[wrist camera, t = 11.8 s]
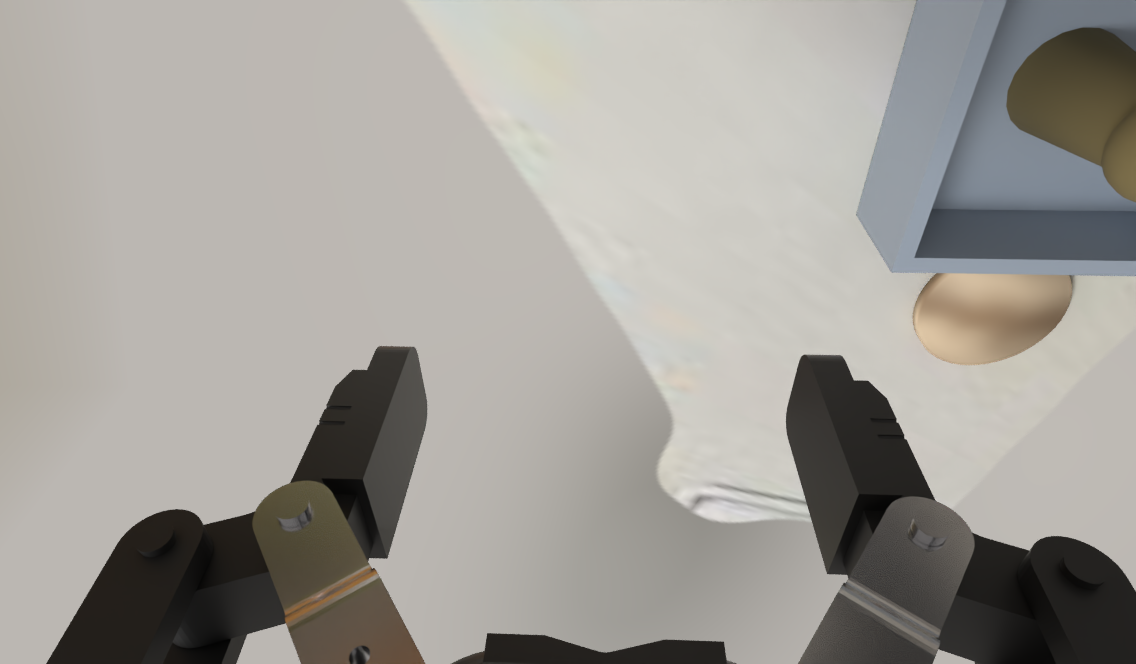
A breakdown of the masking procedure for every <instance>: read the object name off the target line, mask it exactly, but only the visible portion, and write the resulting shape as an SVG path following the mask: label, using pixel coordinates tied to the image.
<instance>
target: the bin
mask: <svg viewBox="0 0 1136 664" xmlns="http://www.w3.org/2000/svg"><path fill="white" fill-rule="evenodd" d="M1082 27H1085V28H1101V29H1104V30H1106V31H1108V32H1110V33H1113V34H1115V35H1116V36H1117V37H1118V38H1120V39H1121V40H1122V41H1123V42H1124V43H1126V44H1127V45H1128V46H1129V47H1131V48H1132V49H1133V50H1134V51H1135V52H1136V0H917V2H916V5H915V9H914V13H913V16H912V20H911V23H910V27H909V30H908V34H907V37H906V41H905V44H904V48H903V51H902V55H901V58H900V62H899V65H898V69H897V72H896V76H895V80H894V83H893V87H892V90H891V94H890V97H889V101H888V104H887V108H886V111H885V115H884V118H883V122H882V125H881V129H880V132H879V136H878V139H877V143H876V147H875V150H874V154H873V157H872V161H871V164H870V168H869V171H868V175H867V178H866V182H865V185H864V189H863V192H862V196H861V199H860V203H859V206H858V210H857V214H856V215H857V217H858V219H859V220H860V222H861V224H862V225H863V227H864V228H865V230H866V232H867V233H868V235H869V237H870V238H871V240H872V242H873V243H874V245H875V246H876V248H877V250H878V251H879V253H880V255H881V256H882V258H883V260H884V261H885V263H886V264H887V266H888V268H889V269H890V271H891V272H900V273H965V274H1030V275H1095V276H1136V202H1133V201H1130V200H1128V199H1125V198H1123V197H1122V196H1121V195H1120V194H1118V193H1117V192H1116V191H1115V190H1114V189H1113V188H1112V187H1111V185H1110V184H1109V183H1108V182H1107V180H1106V178H1105V176H1104V173H1103V169H1102V167H1101V166H1099V165H1096V164H1094V163H1092V162H1090V161H1088V160H1085V159H1083V158H1081V157H1079V156H1077V155H1074V154H1072V153H1070V152H1068V151H1066V150H1063V149H1061V148H1059V147H1057V146H1055V145H1052V144H1050V143H1048V142H1046V141H1044V140H1041V139H1039V138H1037V137H1035V136H1033V135H1030V134H1028V133H1026V132H1024V131H1022V130H1019V129H1018V127H1017V126H1016V125H1015V124H1014V123H1013V122H1012V121H1011V120H1010V117H1009V114H1008V111H1007V107H1006V103H1007V92H1008V89H1009V86H1010V84H1011V82H1012V79H1013V77H1014V74H1015V73H1016V71H1017V70H1018V69H1019V67H1020V66H1021V65H1022V63H1023V62H1024V61H1025V59H1026V58H1027V57H1028V56H1029V55H1030V54H1031V53H1033V52H1034V51H1035V50H1036V49H1037V48H1038V47H1040V46H1041V45H1042V44H1043V43H1045V42H1046V41H1048V40H1050V39H1052V38H1054V37H1056V36H1057V35H1059V34H1061V33H1063V32H1067V31H1071V30H1075V29H1078V28H1082Z"/></svg>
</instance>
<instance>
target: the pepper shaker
mask: <svg viewBox="0 0 1136 664" xmlns="http://www.w3.org/2000/svg"><path fill="white" fill-rule="evenodd" d="M1006 107H1007V111H1008V114H1009V117H1010V120H1011V121H1012V122H1013V123H1014V124H1015V125H1016V126H1017V127H1018V129H1019V130H1022V131H1024V132H1026V133H1028V134H1030V135H1033V136H1035V137H1037V138H1039V139H1041V140H1044V141H1046V142H1048V143H1050V144H1052V145H1055V146H1057V147H1059V148H1061V149H1063V150H1066V151H1068V152H1070V153H1072V154H1074V155H1077V156H1079V157H1081V158H1083V159H1085V160H1088V161H1090V162H1092V163H1094V164H1096V165H1099V166H1101V167H1102V169H1103V173H1104V176H1105V178H1106V180H1107V182H1108V183H1109V184H1110V185H1111V187H1112V188H1113V189H1114V190H1115V191H1116V192H1117V193H1118V194H1120V195H1121V196H1122V197H1123V198H1125V199H1128V200H1130V201H1133V202H1136V52H1135V51H1134V50H1133V49H1132V48H1131V47H1129V46H1128V45H1127V44H1126V43H1124V42H1123V41H1122V40H1121V39H1120V38H1118V37H1117V36H1116V35H1115V34H1113V33H1110V32H1108V31H1106V30H1104V29H1101V28H1085V27H1082V28H1078V29H1075V30H1071V31H1067V32H1063V33H1061V34H1059V35H1057V36H1056V37H1054V38H1052V39H1050V40H1048V41H1046V42H1045V43H1043V44H1042V45H1041V46H1040V47H1038V48H1037V49H1036V50H1035V51H1034V52H1033V53H1031V54H1030V55H1029V56H1028V57H1027V58H1026V59H1025V61H1024V62H1023V63H1022V65H1021V66H1020V67H1019V69H1018V70H1017V71H1016V73H1015V74H1014V77H1013V79H1012V82H1011V84H1010V86H1009V89H1008V92H1007V103H1006Z"/></svg>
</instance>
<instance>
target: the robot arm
mask: <svg viewBox="0 0 1136 664" xmlns="http://www.w3.org/2000/svg"><path fill="white" fill-rule="evenodd" d="M426 420H427V399H426V394H425V389H424V384H423V379H422V373H421V368H420V363H419V358H418V354H417V351H416V349H415V348H414V347H393V346H390V347H389V346H380V347H378V348H377V349H376V351H375V353H374V355H373V358H372V360H371V362H370V365H369V367H368V370H352V371H351V372H350V373H349V374H348V375H347V376H346V377H345V378H344V379H343V380H342V381H341V382H340V383H339V384H337V385H336V386H335V388H334V390H333V393H332V395H331V397H330V399H329V401H328V403H327V408H326V409H325V410H324V412H323V414H322V416H321V418H320V420H319V421H320V423H319V425H317V427H316V429H315V431H314V433H313V435H312V438H311V440H310V442H309V444H308V446H307V448H306V451H305V453H304V455H303V457H302V459H301V461H300V463H299V465H298V468H297V470H296V472H295V474H294V476H293V478H292V480H291V482H290V483H289V484H287V485H284V486H282V487H280V488H278V489H276V490H275V491H273V492H272V493H270V494H269V495H268V496H267V497H266V498H265V499H264V500H263V501H262V502H261V503H260V504H259V506H258V507H257V509H256V511H255V512H252V513H250V514H246V515H243V516H239V517H235V518H231V519H226V520H223V521H218V522H214V523H210V524H206V525H203V523H202V521H201V520H200V518H199V517H198V516H197V515H195V514H194V513H192V512H190V511H186V510H178V509H175V510H167V511H163V512H160V513H156V514H154V515H152V516H149V517H147V518H145V519H144V520H142V521H140V522H139V523H137V524H136V525H135V526H133V527H132V528H131V529H130V530H129V531H128V532H126V534H125V535H124V536H123V537H122V538H121V539H120V541H119V542H118V544H117V545H116V547H115V549H114V551H113V552H112V554H111V556H110V557H109V559H108V561H107V562H106V564H105V566H104V567H103V569H102V571H101V572H100V574H99V576H98V577H97V579H96V581H95V583H94V584H93V586H92V588H91V589H90V591H89V593H88V594H87V597H86V598H85V599H84V601H83V603H82V605H81V606H80V608H79V609H78V611H77V613H76V615H75V616H74V618H73V620H72V621H71V623H70V625H69V627H68V628H67V630H66V631H65V633H64V635H63V637H62V638H61V640H60V642H59V643H58V645H57V647H56V649H55V650H54V652H53V653H52V655H51V657H50V658H49V660H48V662H47V663H46V664H236V663H237V660H238V657H239V655H240V652H241V649H242V647H243V644H244V641H245V639H246V636H247V634H249V633H253V632H256V631H260V630H263V629H267V628H271V627H274V626H277V625H281V624H285V623H286V625H287V627H288V630H289V633H290V635H291V638H292V641H293V643H294V646H295V649H296V651H297V654H298V657H299V659H300V662H301V664H425V662H424V660H423V658H422V656H421V654H420V652H419V650H418V649H417V647H416V645H415V643H414V641H413V639H412V637H411V635H410V633H409V631H408V630H407V628H406V626H405V624H404V622H403V620H402V618H401V616H400V614H399V612H398V610H397V609H396V607H395V605H394V603H393V601H392V599H391V597H390V595H389V593H388V591H387V589H386V588H385V586H384V584H383V582H382V580H381V578H380V576H379V574H378V573H377V571H376V570H375V569H374V568H373V569H372V568H371V566H370V564H369V563H368V560H369V558H388V554H389V551H390V547H391V544H392V541H393V537H394V534H395V530H396V527H397V523H398V520H399V516H400V513H401V509H402V506H403V503H404V499H405V496H406V492H407V489H408V485H409V482H410V479H411V475H412V472H413V468H414V465H415V462H416V458H417V455H418V451H419V447H420V444H421V440H422V437H423V434H424V431H425V426H426ZM786 429H787V436H788V440H789V443H790V447H791V450H792V454H793V457H794V461H795V464H796V468H797V471H798V475H799V478H800V481H801V485H802V488H803V492H804V495H805V499H806V502H807V506H808V509H809V513H810V516H811V520H812V523H813V526H814V530H815V533H816V537H817V540H818V544H819V547H820V551H821V554H822V558H823V561H824V564H825V568H826V571H827V574H842V575H848V580H847V582H846V583H844V584H843V585H842V587H841V588H840V590H839V592H838V593H837V595H836V597H835V598H834V601H833V602H832V604H831V606H830V607H829V609H828V611H827V613H826V615H825V616H824V618H823V620H822V622H821V624H820V625H819V627H818V629H817V631H816V632H815V634H814V636H813V638H812V640H811V641H810V643H809V645H808V647H807V649H806V650H805V652H804V654H803V656H802V657H801V659H800V661H799V663H798V664H932V663H933V661H934V658H935V656H936V653H937V651H938V649H940V650H942V651H945V652H948V653H951V654H954V655H957V656H960V657H963V658H966V659H969V660H972V661H975V664H1136V591H1135V590H1134V588H1133V587H1132V585H1131V583H1130V582H1129V580H1128V578H1127V577H1126V575H1125V574H1124V573H1123V571H1122V570H1121V569H1120V568H1119V566H1118V565H1117V564H1116V563H1115V562H1113V561H1112V560H1111V559H1110V558H1109V557H1108V556H1106V555H1105V554H1104V553H1102V552H1101V551H1099V550H1097V549H1096V548H1094V547H1092V546H1090V545H1088V544H1086V543H1084V542H1081V541H1078V540H1076V539H1072V538H1068V537H1061V536H1051V537H1045V538H1043V539H1040V540H1039V541H1037V542H1036V543H1035V544H1034V545H1033V547H1032V548H1031V549H1030V551H1028V550H1025V549H1022V548H1018V547H1015V546H1011V545H1008V544H1004V543H1001V542H997V541H994V540H990V539H987V538H984V537H981V536H979V535H976V534H974V533H972V532H971V530H970V528H969V527H968V525H967V524H966V522H965V521H964V520H963V519H962V518H961V517H960V516H959V515H958V514H957V513H956V512H954V511H953V510H951V509H950V508H949V507H947V506H945V505H943V504H941V503H939V502H937V501H936V500H935V499H934V497H933V495H932V493H931V490H930V488H929V486H928V484H927V482H926V480H925V478H924V476H923V474H922V471H921V469H920V467H919V465H918V463H917V461H916V459H915V457H914V455H913V453H912V450H911V448H910V446H909V444H908V442H907V440H906V439H904V434H903V432H902V429H901V427H900V425H899V423H897V422H896V417H895V415H894V413H893V410H892V408H891V406H890V404H889V402H888V400H887V398H886V397H885V396H883V395H882V394H881V393H880V392H879V391H878V390H877V389H876V388H875V387H874V386H873V385H872V384H871V383H870V382H869V381H854V380H853V378H852V375H851V373H850V371H849V368H848V366H847V364H846V362H845V360H844V358H843V357H842V356H840V355H803V356H802V357H801V359H800V361H799V364H798V368H797V372H796V376H795V380H794V384H793V387H792V391H791V395H790V399H789V403H788V407H787V413H786ZM452 664H736V663H733V662H730V661H727V660H726V655H725V647H724V642H716V641H714V642H712V641H687V640H686V641H685V640H662V641H657V642H653V643H648V644H644V645H640V646H635V647H631V648H627V649H622V650H618V651H613V652H608V653H603V652H598V651H594V650H591V649H588V648H585V647H581V646H578V645H575V644H571V643H568V642H565V641H562V640H558V639H555V638H552V637H548V636H545V635H520V634H517V635H516V634H491V633H488V634H487V639H486V646H485V651H483V652H479V653H475V654H472V655H470V656H467V657H464V658H462V659H460V660H458V661H456V662H454V663H452Z"/></svg>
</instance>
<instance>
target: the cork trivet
mask: <svg viewBox="0 0 1136 664" xmlns="http://www.w3.org/2000/svg"><path fill="white" fill-rule="evenodd" d="M1071 296H1072V283H1071V279H1070V276H1069V275H1030V274H965V273H936V274H935V275H934V276H933V278H932V279H931V280H930V281H929V282H928V283H927V284H926V286H925V287H924V288H923V290H922V291H921V293H920V295H919V297H918V299H917V301H916V303H915V307H914V311H913V325H914V329H915V331H916V334H917V336H918V337H919V339H920V341H921V343H922V344H923V346H924V347H925V348H926V349H927V350H928V351H929V352H930V353H931V354H932V355H934V356H935V357H937V358H939V359H941V360H943V361H946V362H949V363H954V364H960V365H980V364H987V363H992V362H997V361H1000V360H1003V359H1006V358H1009V357H1012V356H1014V355H1017V354H1019V353H1021V352H1023V351H1025V350H1027V349H1028V348H1030V347H1032V346H1033V345H1035V344H1036V343H1038V342H1039V341H1041V340H1042V339H1043V338H1044V337H1045V336H1047V335H1048V334H1049V333H1050V332H1051V331H1052V330H1053V329H1054V328H1055V327H1056V326H1057V324H1058V323H1059V322H1060V321H1061V319H1062V318H1063V316H1064V314H1065V313H1066V311H1067V309H1068V306H1069V304H1070V300H1071Z"/></svg>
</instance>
